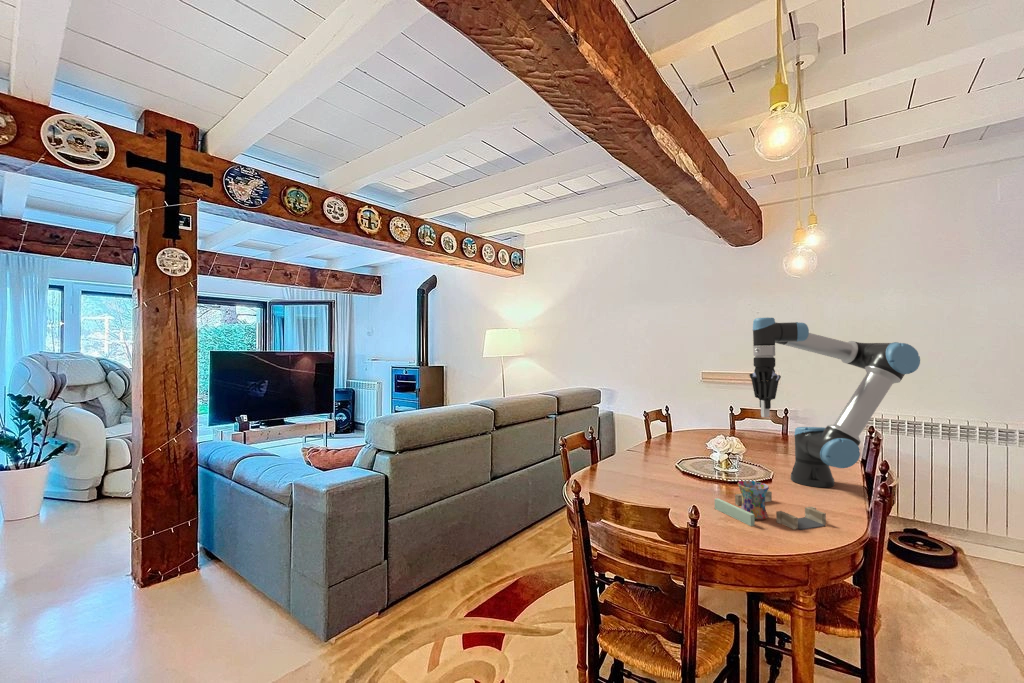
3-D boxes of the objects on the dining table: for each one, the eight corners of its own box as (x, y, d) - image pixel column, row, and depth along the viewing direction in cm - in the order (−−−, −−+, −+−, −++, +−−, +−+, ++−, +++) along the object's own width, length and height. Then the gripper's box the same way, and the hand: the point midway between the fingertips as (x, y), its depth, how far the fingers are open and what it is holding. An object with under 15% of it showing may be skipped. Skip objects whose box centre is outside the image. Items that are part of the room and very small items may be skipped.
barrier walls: (768, 499, 164) (768, 490, 164) (829, 523, 142) (829, 512, 142) (735, 504, 160) (735, 494, 160) (792, 529, 137) (792, 518, 137)
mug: (767, 524, 142) (767, 490, 142) (735, 517, 147) (735, 485, 148) (771, 512, 152) (771, 481, 152) (741, 507, 157) (741, 477, 157)
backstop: (718, 508, 156) (718, 498, 156) (754, 525, 141) (754, 514, 141) (714, 508, 156) (714, 498, 156) (750, 526, 140) (750, 515, 140)
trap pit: (805, 518, 146) (805, 517, 146) (825, 526, 140) (825, 525, 140) (781, 521, 144) (781, 520, 144) (800, 530, 137) (800, 529, 137)
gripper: (743, 356, 179) (744, 414, 179) (770, 357, 167) (771, 419, 166) (758, 356, 181) (759, 413, 181) (786, 357, 169) (787, 418, 168)
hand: (765, 416), depth 174 cm, fingers closed
